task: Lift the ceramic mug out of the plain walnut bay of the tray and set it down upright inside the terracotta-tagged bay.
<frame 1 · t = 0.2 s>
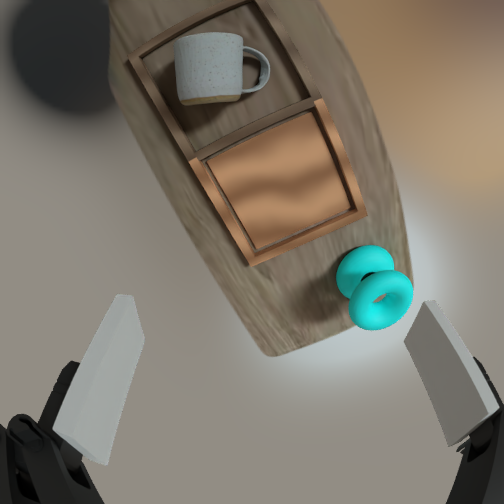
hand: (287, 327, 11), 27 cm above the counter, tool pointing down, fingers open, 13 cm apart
ceramic mug: (224, 71, 28), resting in tray
donuts: (362, 268, 43), on the counter
tray: (254, 126, 32), on the counter
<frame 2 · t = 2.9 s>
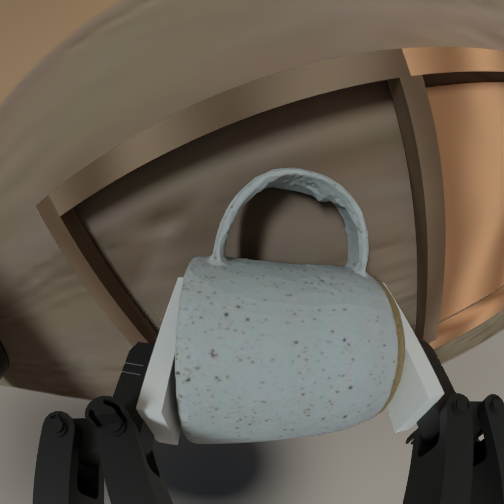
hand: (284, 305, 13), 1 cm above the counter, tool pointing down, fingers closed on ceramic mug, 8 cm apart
ceramic mug: (274, 273, 14), resting in tray, touching gripper
tray: (425, 234, 12), on the counter
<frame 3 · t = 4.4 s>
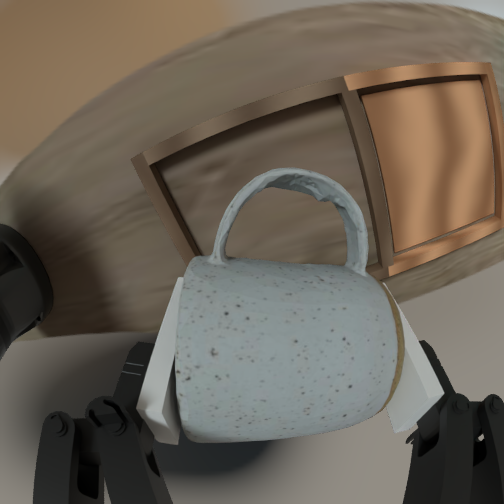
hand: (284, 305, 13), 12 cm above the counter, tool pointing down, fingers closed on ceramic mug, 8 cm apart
ceramic mug: (274, 272, 14), point 10 cm above the counter, touching gripper
tray: (370, 183, 21), on the counter
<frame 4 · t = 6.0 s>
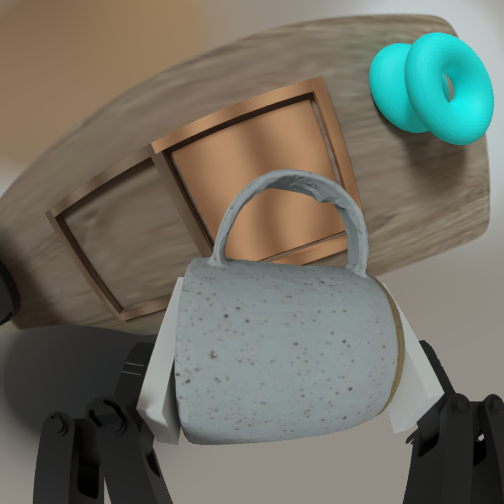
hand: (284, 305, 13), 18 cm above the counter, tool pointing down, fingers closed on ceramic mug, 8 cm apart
ceramic mug: (274, 274, 14), point 16 cm above the counter, touching gripper
donuts: (404, 87, 22), on the counter
tray: (192, 218, 29), on the counter
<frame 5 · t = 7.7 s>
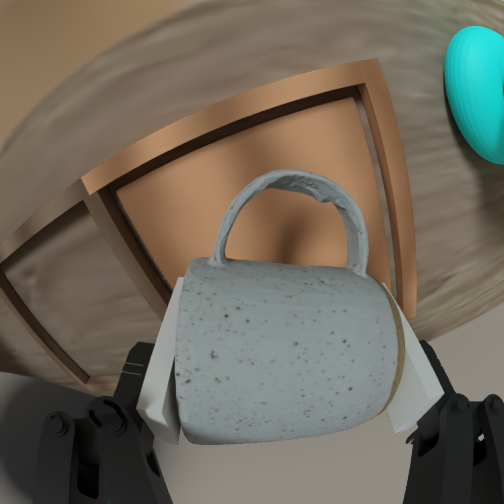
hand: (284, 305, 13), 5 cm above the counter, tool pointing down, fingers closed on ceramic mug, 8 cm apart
ceramic mug: (274, 274, 14), point 4 cm above the counter, touching gripper
donuts: (482, 92, 11), on the counter
tray: (158, 289, 18), on the counter
when the fingers open (3 cm above the counter, at t = 9.0 s): ceramic mug moves 1 cm, resting on tray.
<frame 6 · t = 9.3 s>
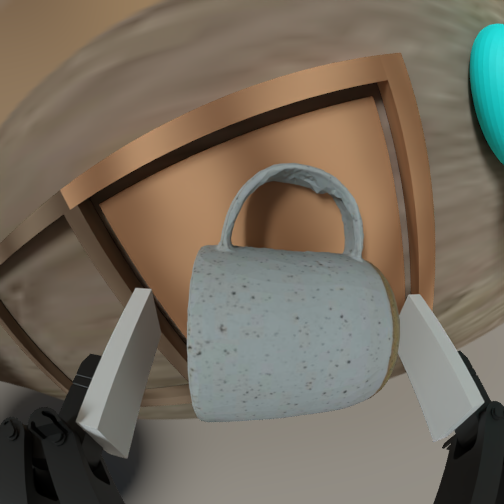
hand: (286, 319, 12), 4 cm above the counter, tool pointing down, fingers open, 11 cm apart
ceramic mug: (277, 262, 15), resting on tray
tray: (151, 311, 16), on the counter
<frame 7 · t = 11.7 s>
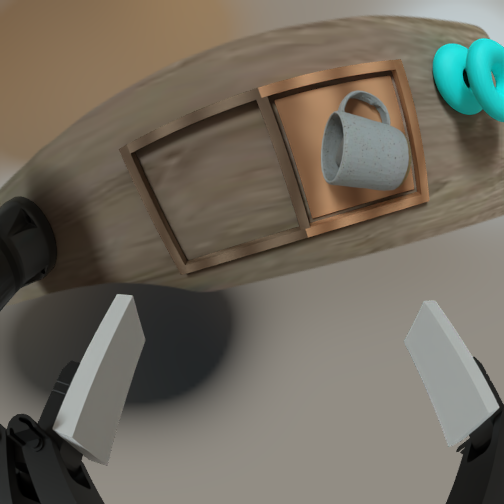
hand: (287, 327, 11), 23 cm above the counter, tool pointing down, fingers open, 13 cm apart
ceramic mug: (353, 136, 28), resting on tray
donuts: (455, 78, 23), on the counter
tray: (285, 163, 30), on the counter
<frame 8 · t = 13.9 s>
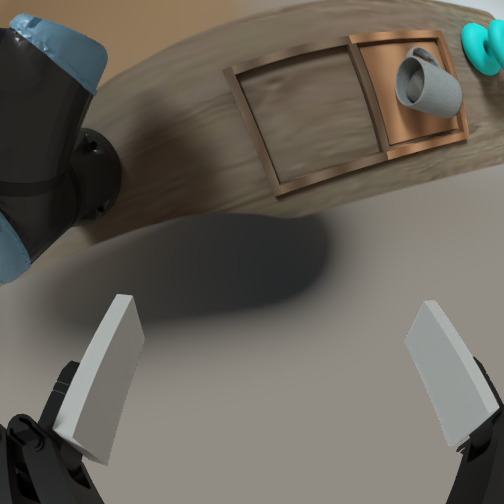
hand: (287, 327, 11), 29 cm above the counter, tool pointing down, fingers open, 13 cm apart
ceramic mug: (414, 80, 28), resting on tray
donuts: (476, 49, 23), on the counter
tray: (368, 97, 31), on the counter
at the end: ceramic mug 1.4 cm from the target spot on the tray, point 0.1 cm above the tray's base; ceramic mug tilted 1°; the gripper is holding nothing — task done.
